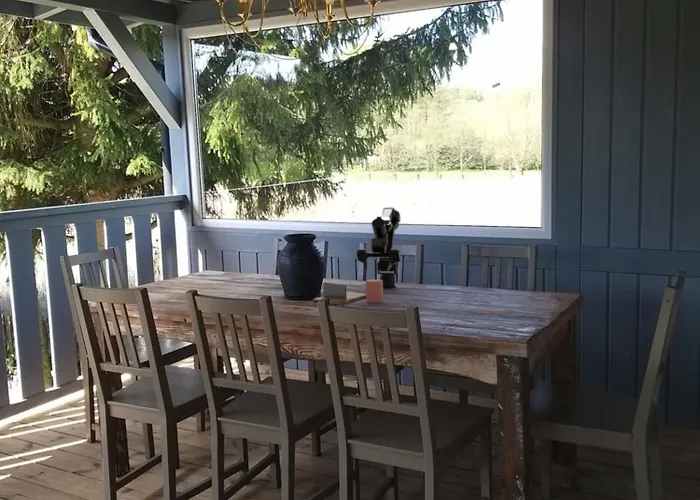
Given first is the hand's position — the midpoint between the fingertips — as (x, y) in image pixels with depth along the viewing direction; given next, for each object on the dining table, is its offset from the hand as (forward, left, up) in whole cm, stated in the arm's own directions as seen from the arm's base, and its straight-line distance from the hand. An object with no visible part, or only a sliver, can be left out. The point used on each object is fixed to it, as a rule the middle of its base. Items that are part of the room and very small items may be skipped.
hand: (376, 270), depth 301 cm
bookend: (+18, -2, -11) cm, 21 cm away
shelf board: (+14, -5, -12) cm, 19 cm away
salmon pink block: (+3, +5, -12) cm, 13 cm away
